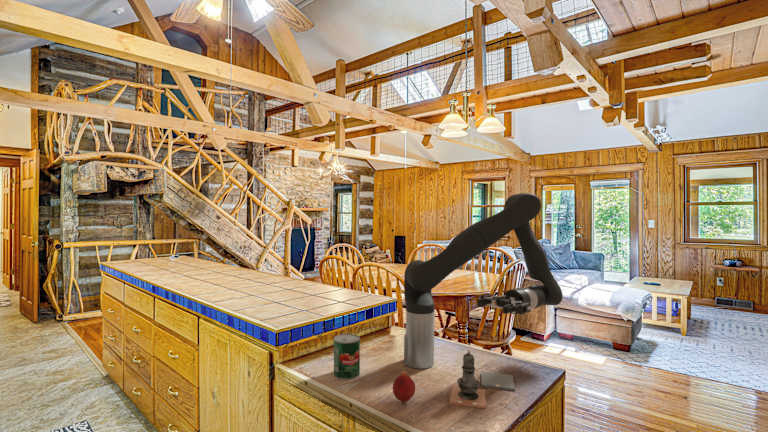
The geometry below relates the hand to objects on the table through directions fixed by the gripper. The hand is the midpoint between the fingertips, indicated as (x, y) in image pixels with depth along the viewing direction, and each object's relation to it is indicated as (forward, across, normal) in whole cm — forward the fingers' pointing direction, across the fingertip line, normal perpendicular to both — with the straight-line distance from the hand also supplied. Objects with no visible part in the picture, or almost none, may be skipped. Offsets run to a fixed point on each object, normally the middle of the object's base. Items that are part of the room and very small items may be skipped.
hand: (490, 306), depth 110 cm
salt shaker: (+11, +2, +22) cm, 25 cm away
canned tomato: (+28, -30, +24) cm, 48 cm away
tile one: (-3, +2, +22) cm, 22 cm away
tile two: (+11, +2, +22) cm, 25 cm away
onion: (+26, -7, +23) cm, 36 cm away
